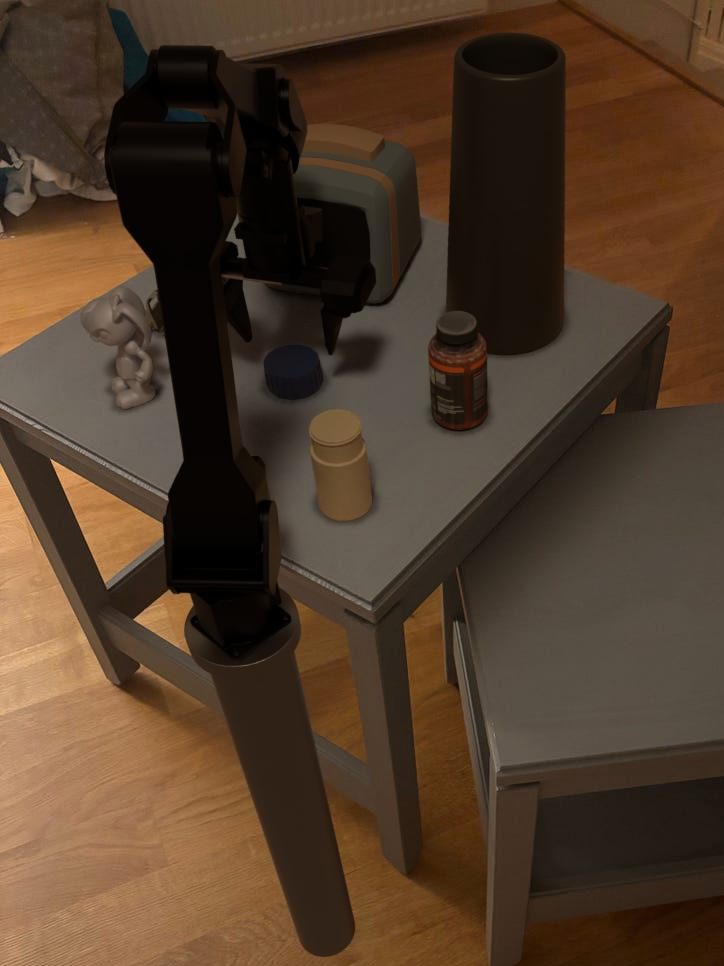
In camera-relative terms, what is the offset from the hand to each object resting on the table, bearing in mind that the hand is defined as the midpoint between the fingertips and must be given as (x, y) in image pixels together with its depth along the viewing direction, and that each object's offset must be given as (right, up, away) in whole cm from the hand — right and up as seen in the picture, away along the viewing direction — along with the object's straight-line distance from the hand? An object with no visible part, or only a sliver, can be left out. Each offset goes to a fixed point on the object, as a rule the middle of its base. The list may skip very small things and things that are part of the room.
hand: (290, 346), depth 110 cm
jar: (+7, -18, -9) cm, 21 cm away
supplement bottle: (+18, -7, 0) cm, 19 cm away
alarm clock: (+4, +15, +18) cm, 23 cm away
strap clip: (-17, +5, +10) cm, 20 cm away
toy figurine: (-17, -5, +2) cm, 18 cm away
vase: (+23, +6, +11) cm, 26 cm away
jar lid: (0, -3, +3) cm, 4 cm away
